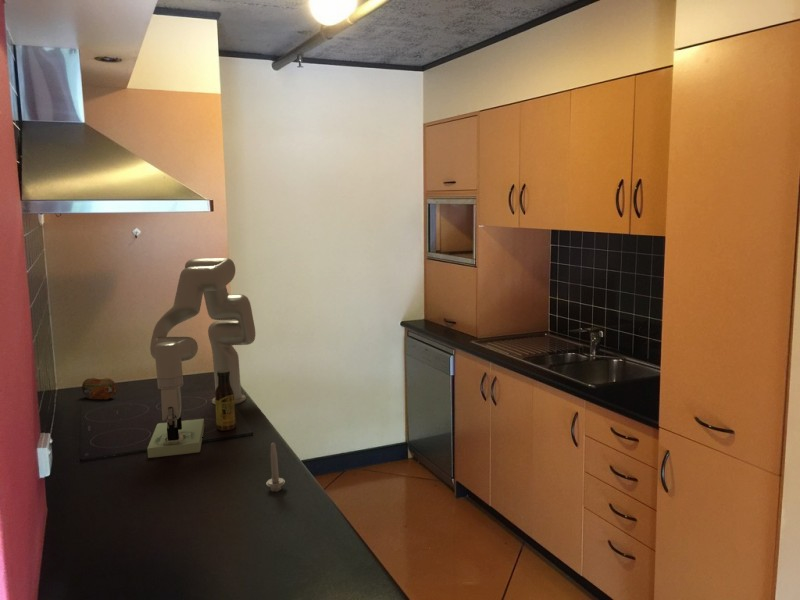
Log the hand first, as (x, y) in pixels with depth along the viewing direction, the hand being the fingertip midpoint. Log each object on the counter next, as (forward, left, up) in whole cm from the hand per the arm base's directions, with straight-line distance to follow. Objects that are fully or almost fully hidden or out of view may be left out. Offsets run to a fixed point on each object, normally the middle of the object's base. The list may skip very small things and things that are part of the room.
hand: (175, 434), depth 204 cm
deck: (-5, 0, -4) cm, 7 cm away
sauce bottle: (-13, +15, -4) cm, 21 cm away
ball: (+1, 0, -1) cm, 2 cm away
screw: (+42, +29, -4) cm, 51 cm away
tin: (-69, -36, -4) cm, 78 cm away
